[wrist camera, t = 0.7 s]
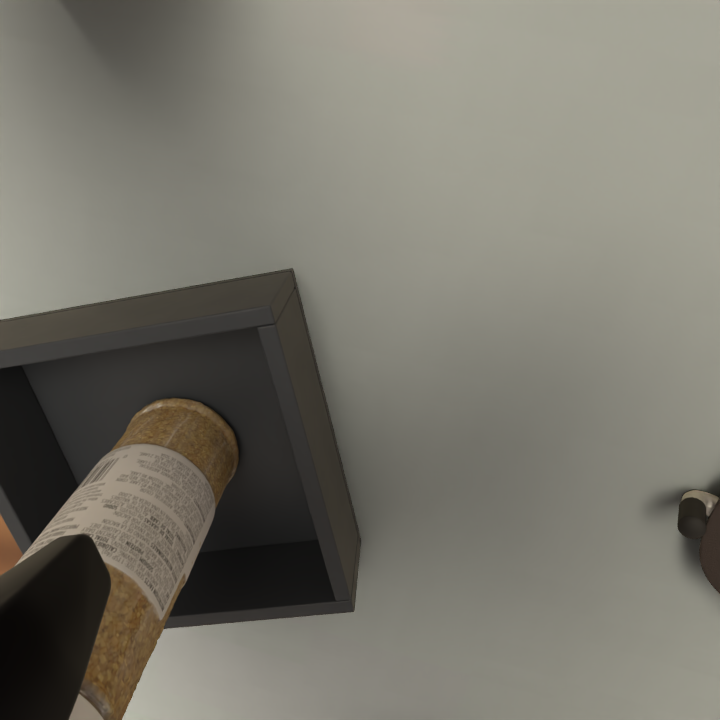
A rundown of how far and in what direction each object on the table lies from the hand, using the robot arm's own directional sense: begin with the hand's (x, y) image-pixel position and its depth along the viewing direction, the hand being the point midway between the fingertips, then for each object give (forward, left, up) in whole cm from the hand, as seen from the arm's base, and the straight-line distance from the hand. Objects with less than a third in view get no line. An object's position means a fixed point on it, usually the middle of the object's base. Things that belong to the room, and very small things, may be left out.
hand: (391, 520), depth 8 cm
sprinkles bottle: (-6, +9, -13) cm, 17 cm away
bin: (-6, +9, -13) cm, 17 cm away
